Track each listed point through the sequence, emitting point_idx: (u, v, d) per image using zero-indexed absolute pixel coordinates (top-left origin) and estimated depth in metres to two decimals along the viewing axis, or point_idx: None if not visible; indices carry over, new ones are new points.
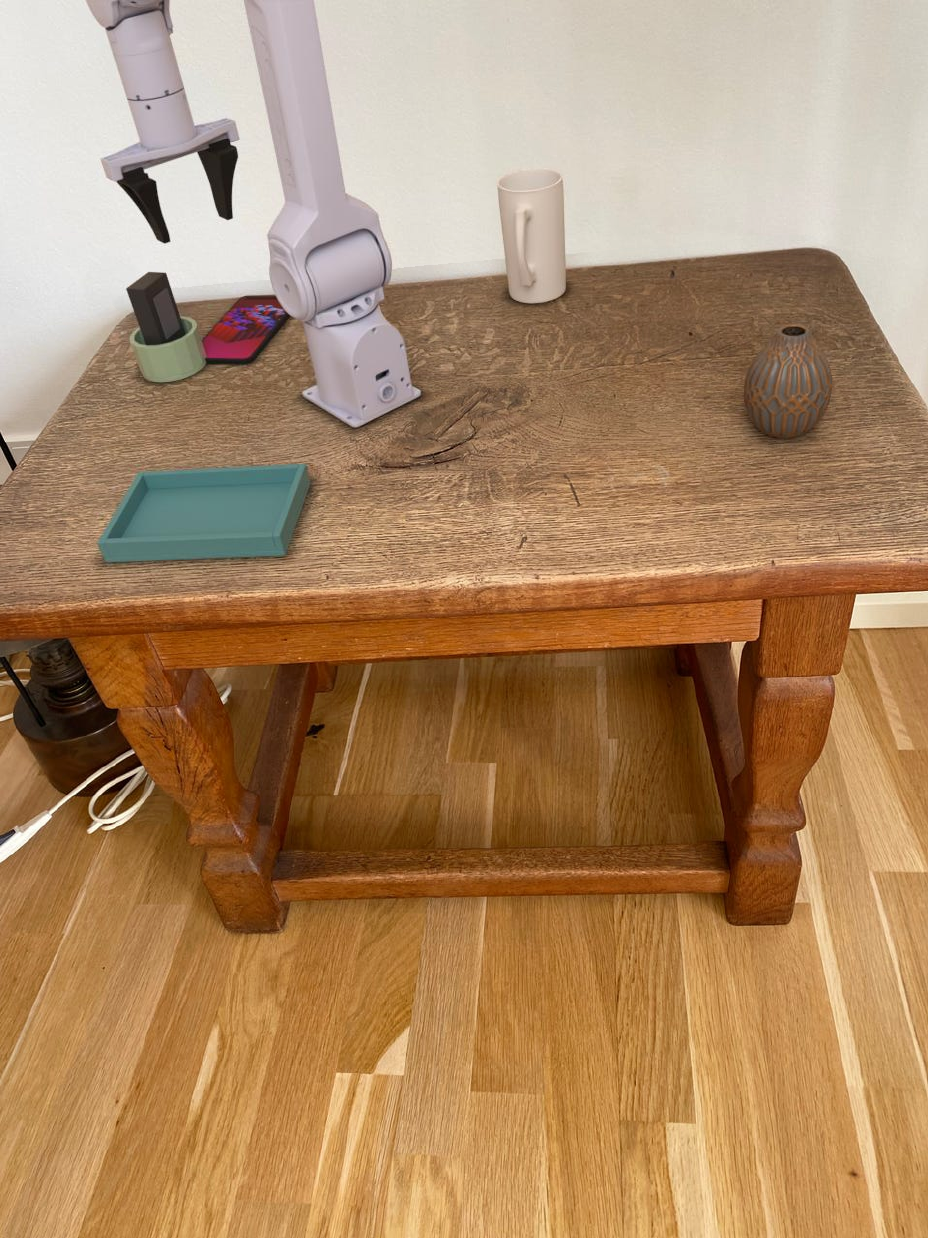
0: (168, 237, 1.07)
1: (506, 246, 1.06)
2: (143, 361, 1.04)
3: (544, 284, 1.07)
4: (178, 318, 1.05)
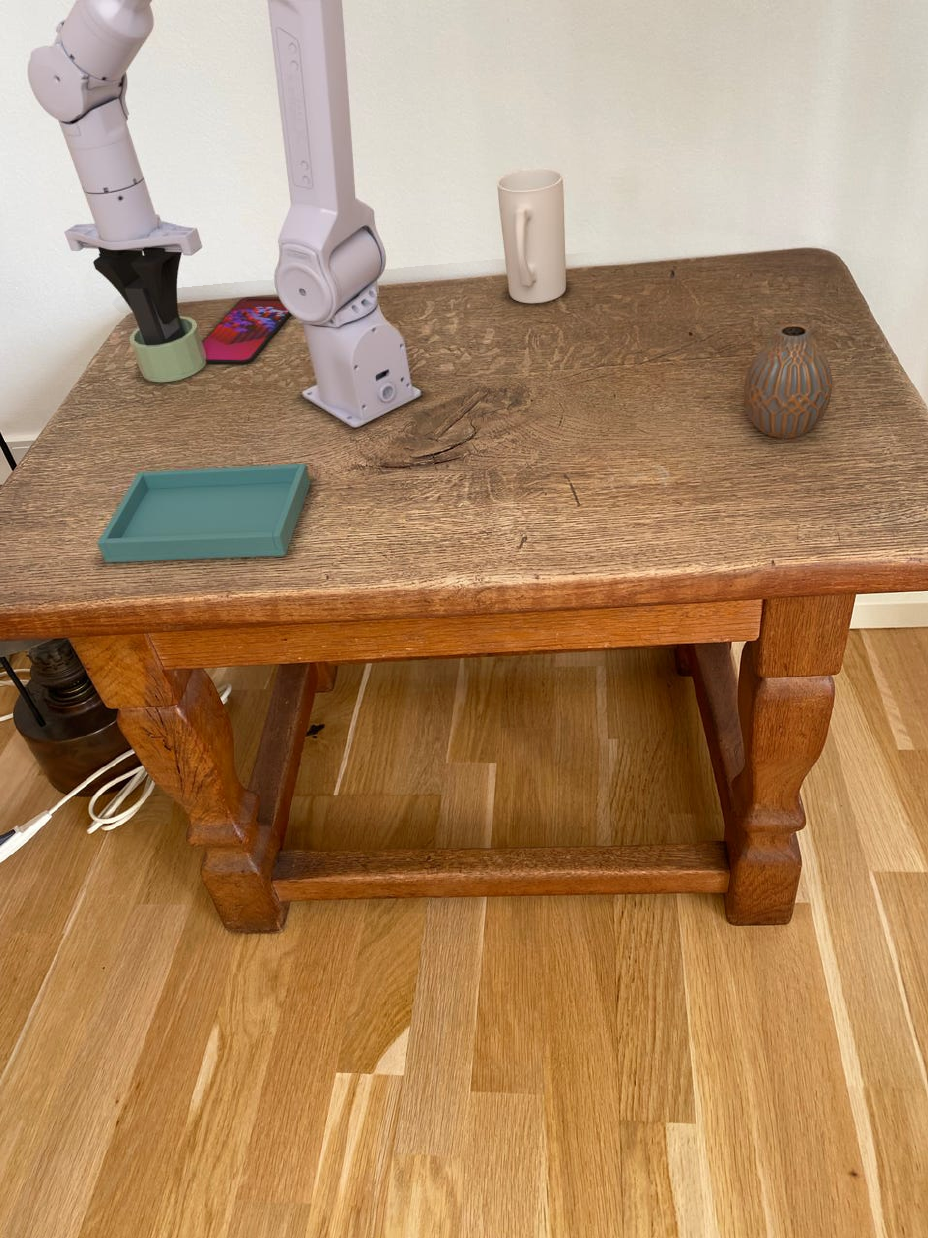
0: None
1: (506, 246, 1.06)
2: (143, 361, 1.04)
3: (544, 284, 1.07)
4: (177, 318, 1.05)
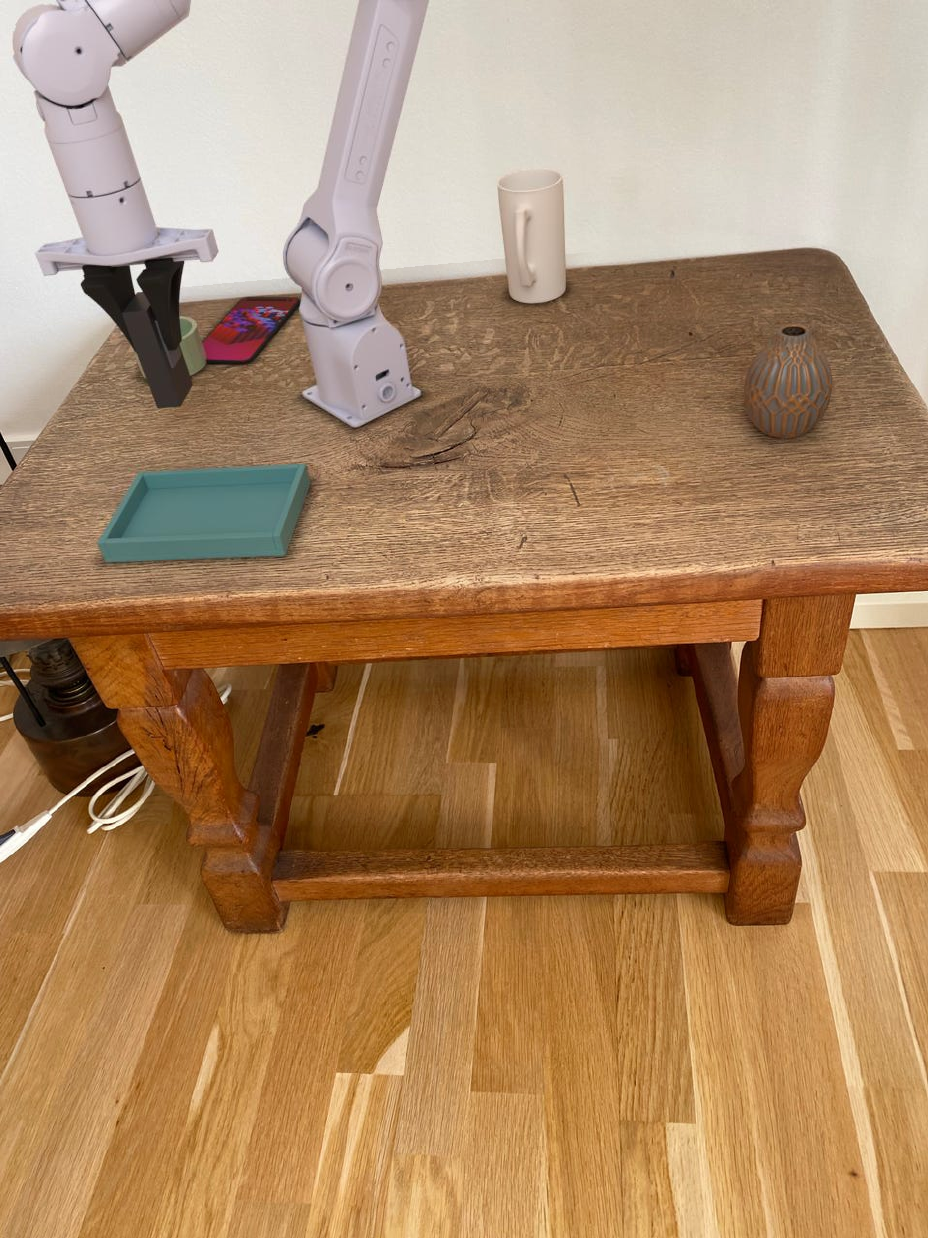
0: None
1: (506, 246, 1.06)
2: None
3: (544, 284, 1.07)
4: None
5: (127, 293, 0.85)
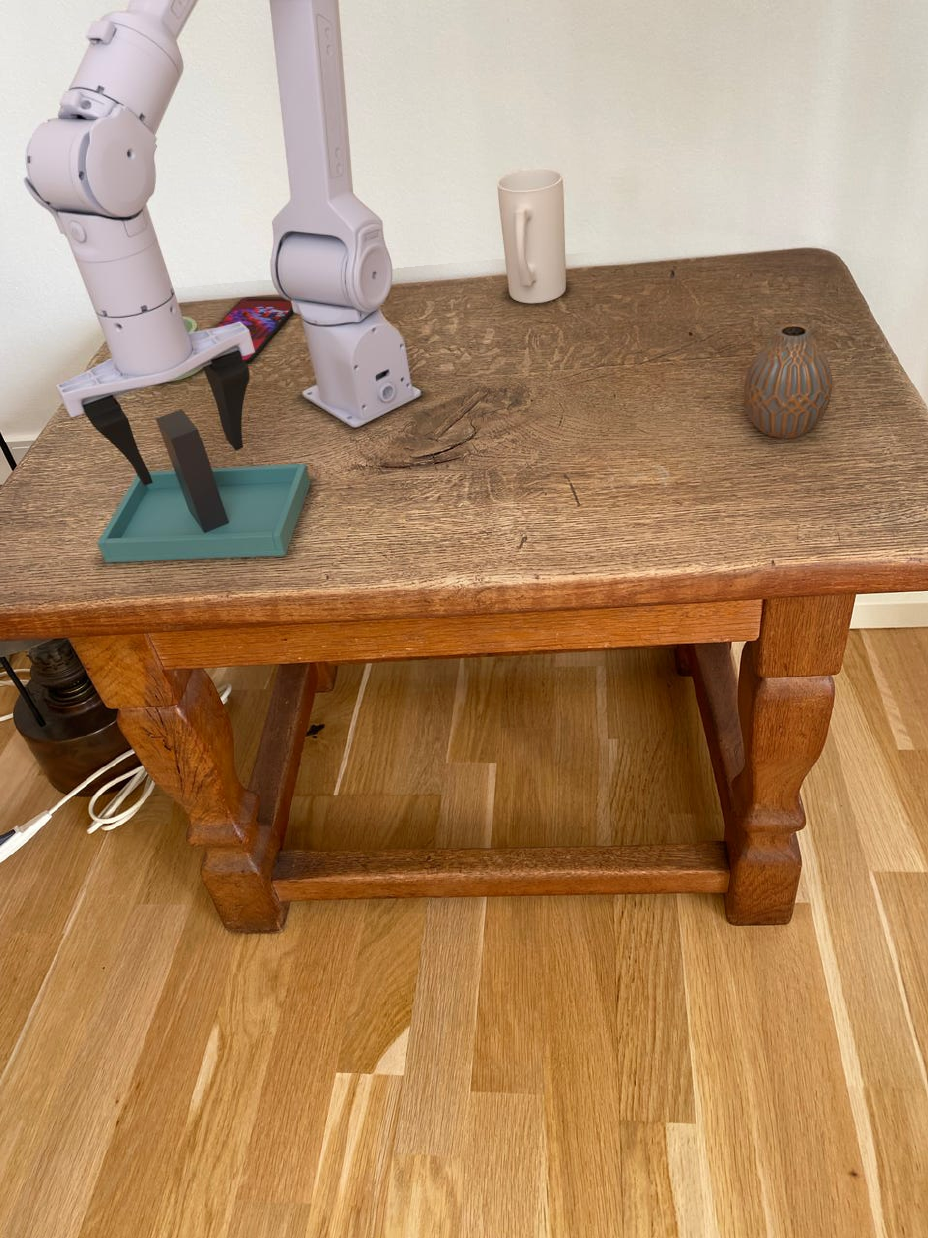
0: (149, 478, 0.79)
1: (506, 246, 1.06)
2: None
3: (544, 284, 1.07)
4: None
5: None
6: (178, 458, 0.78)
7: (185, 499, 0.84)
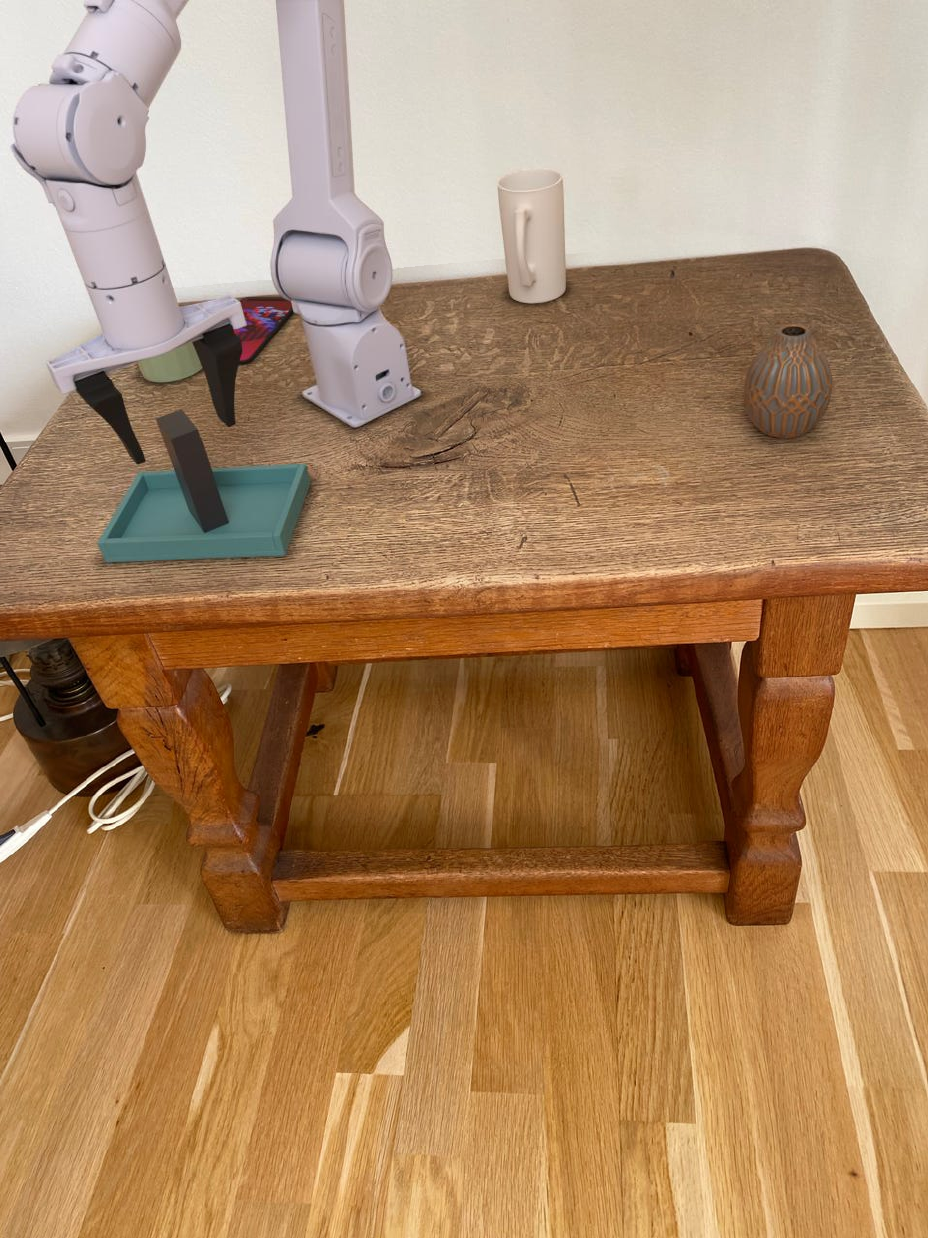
0: (142, 457, 0.77)
1: (506, 246, 1.06)
2: (143, 361, 1.04)
3: (544, 284, 1.07)
4: None
5: None
6: (178, 458, 0.78)
7: (185, 499, 0.84)
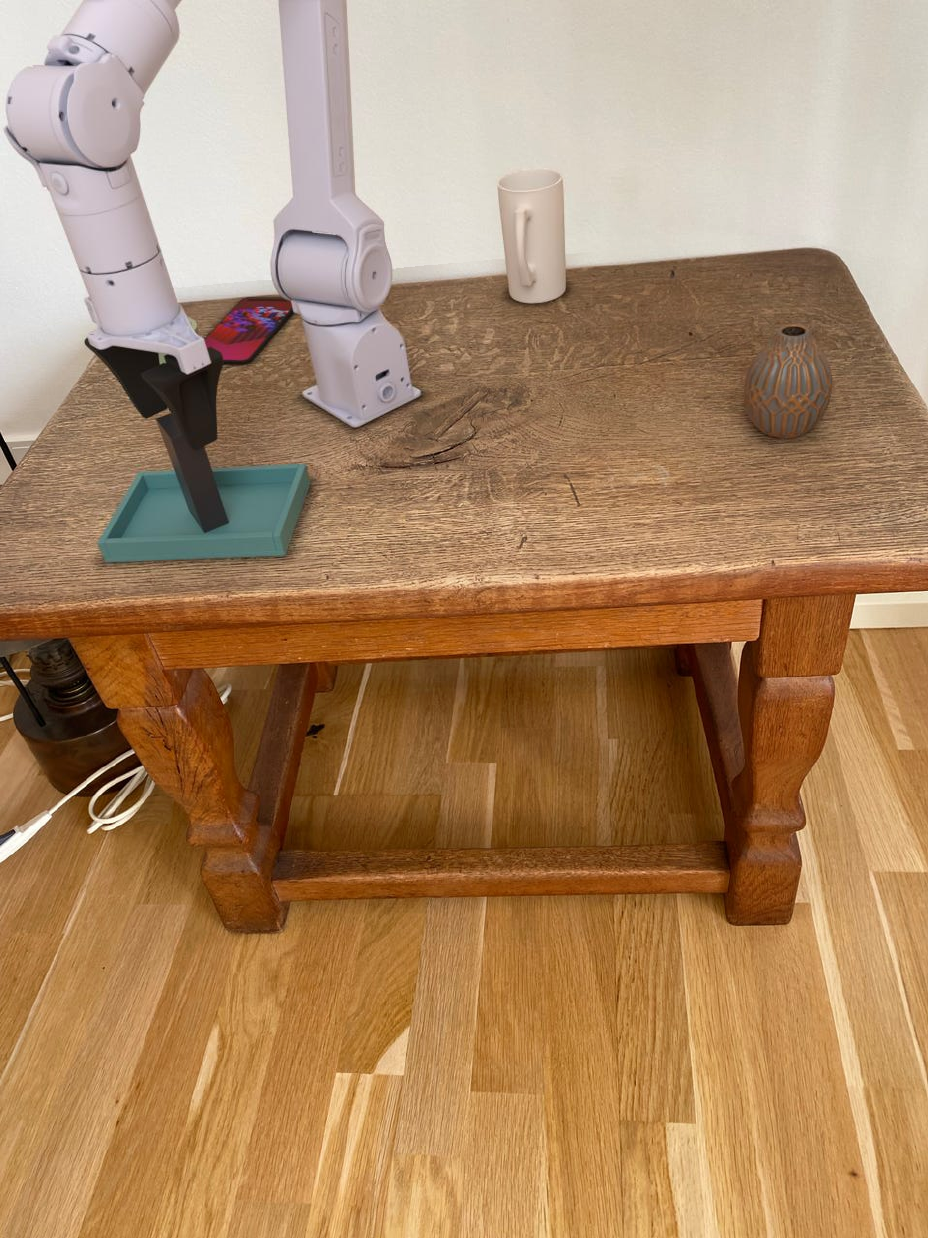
0: None
1: (506, 246, 1.06)
2: None
3: (544, 284, 1.07)
4: None
5: None
6: (178, 458, 0.78)
7: (185, 499, 0.84)
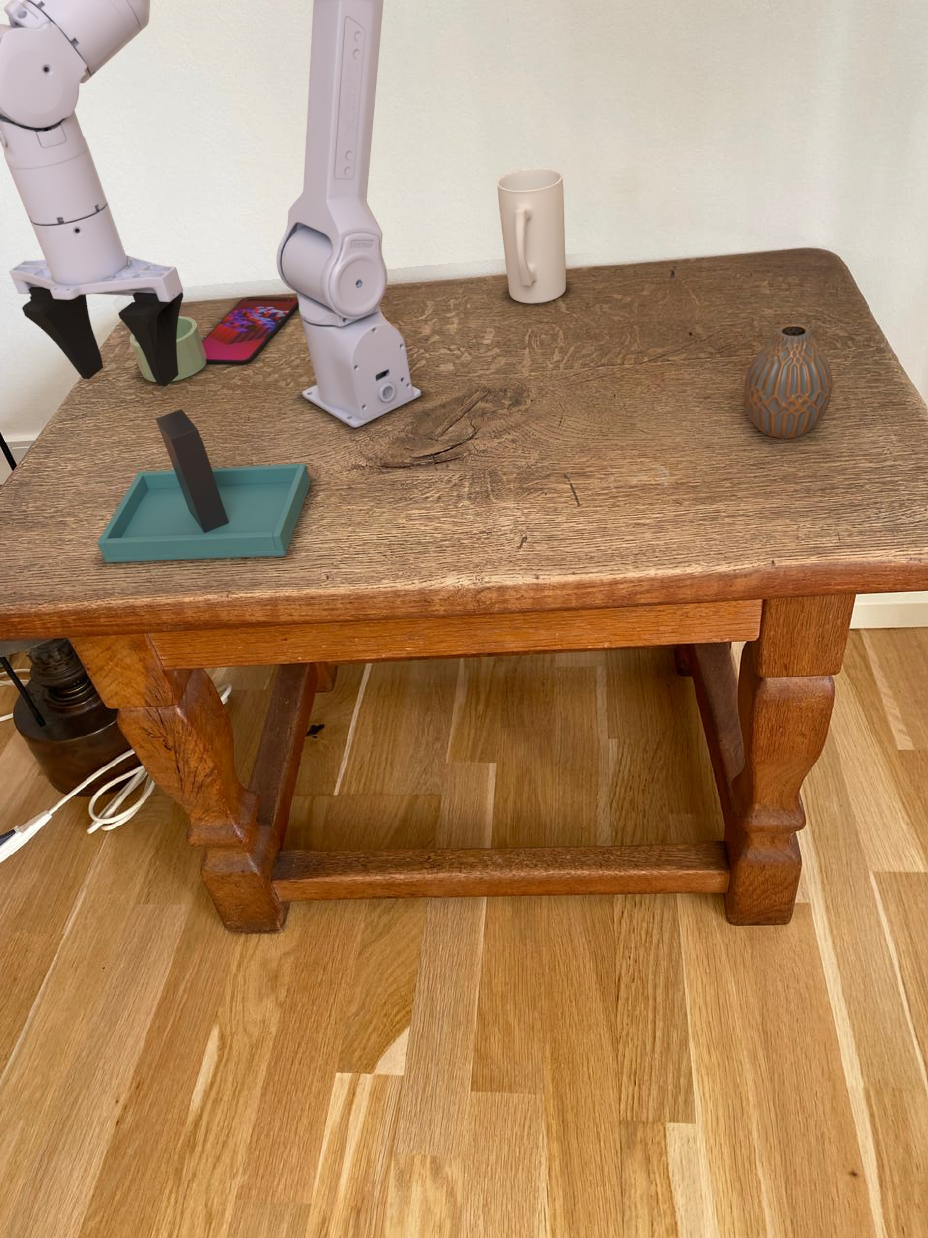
0: None
1: (506, 246, 1.06)
2: (143, 361, 1.04)
3: (544, 284, 1.07)
4: None
5: None
6: (178, 458, 0.78)
7: (185, 499, 0.84)
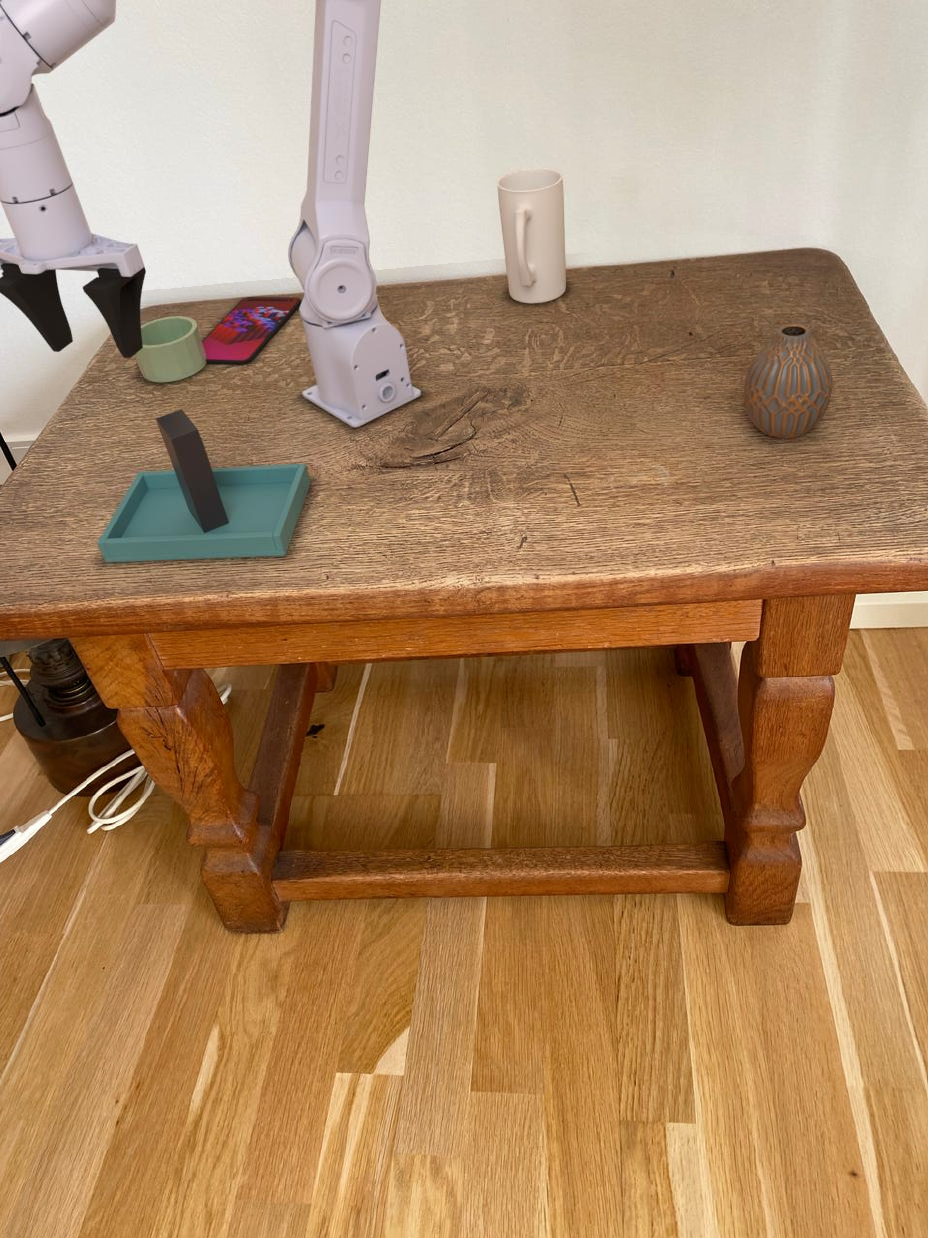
0: None
1: (506, 246, 1.06)
2: (143, 361, 1.04)
3: (544, 284, 1.07)
4: None
5: None
6: (178, 458, 0.78)
7: (185, 499, 0.84)
